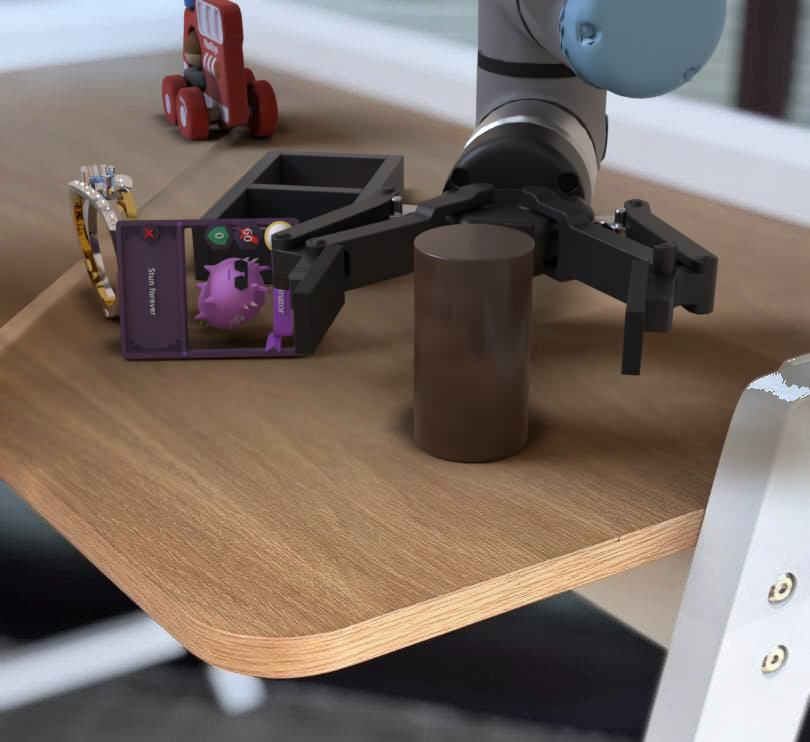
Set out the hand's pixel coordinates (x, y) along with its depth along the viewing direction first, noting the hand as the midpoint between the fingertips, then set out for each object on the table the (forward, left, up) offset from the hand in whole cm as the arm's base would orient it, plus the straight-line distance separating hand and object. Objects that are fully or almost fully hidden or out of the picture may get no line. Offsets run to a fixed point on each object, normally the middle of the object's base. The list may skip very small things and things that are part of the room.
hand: (464, 334), depth 61 cm
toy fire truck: (-27, +55, -6) cm, 61 cm away
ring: (-21, +15, -6) cm, 26 cm away
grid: (-14, +30, -6) cm, 33 cm away
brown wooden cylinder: (0, +3, -6) cm, 6 cm away
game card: (-15, +12, -6) cm, 20 cm away
